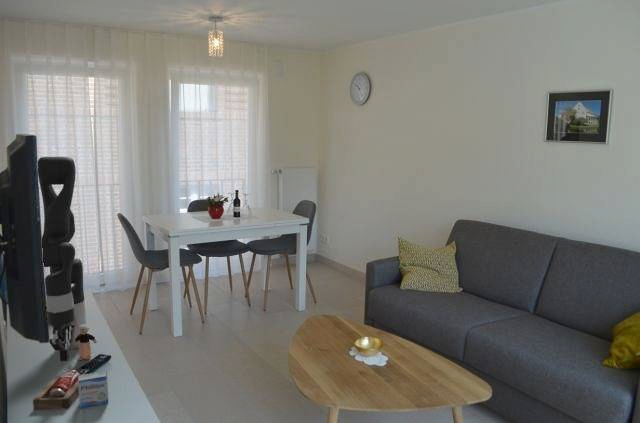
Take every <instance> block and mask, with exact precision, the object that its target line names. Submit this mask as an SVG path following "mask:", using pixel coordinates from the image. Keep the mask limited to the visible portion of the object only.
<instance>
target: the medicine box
mask: <svg viewBox="0 0 640 423" xmlns="http://www.w3.org/2000/svg"><path fill="white" fill-rule="evenodd" d="M108 386H109V384H108V372H107V370H104V371H98V372H93V373H92V372H91V373H87V374H80V375H79V376H78V387H79V396H78V398H79V400H78V401H79V408H80V409H85V408H89V407H95V406H100V405H104V404H108V403H109V388H108Z"/></svg>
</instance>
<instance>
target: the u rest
mask: <svg viewBox="0 0 640 423" xmlns="http://www.w3.org/2000/svg"><path fill="white" fill-rule="evenodd" d="M61 378H62V377H61V376H57V375H55V376H54V378H52V379H51V381H49V383H48V384H47V385H45V387H44V388H43V389H42V390H41V391H40V392H39V393H38V394H37V395H36V396H35V397H34V399H32V405H33V410H34V411H37V410H65V409H67V410H68V409H70V407H71V406H72V405H73V403H74V402H75V400H77V398H79V387H78V381H77V382H76V383H75V384H74V386H73V387H72V388H71V389H70V390H69V391H68V393H67V394H66V395H65V396H64V397H63V398H49V393H50V391H51V389H52V388H53V387H54V386H55V384H56V383H57V382H58V381H59V380H60V379H61Z"/></svg>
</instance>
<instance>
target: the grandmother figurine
mask: <svg viewBox="0 0 640 423" xmlns="http://www.w3.org/2000/svg"><path fill="white" fill-rule="evenodd" d="M79 330H80V333H81V334H79V335H78V336H77V337H76V339H75V341H74V345H76V344H77V342H78V341H80V343H79V348H78V355H79V356H78V358H77V361H83V360H84V359H85V361H86V360H91V359H92V356H91V355H92V354H91V353H92V350H91V349H92V348H91V342H90V340H91V341H92V342H93V344H97V341H98V340H96V337H95V336H94V335H92V334H90V333H88V332H89V330H90V327H89V326H88V325H87V324H86V325H85V324H83V325H80V327H79Z"/></svg>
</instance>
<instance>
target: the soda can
mask: <svg viewBox="0 0 640 423" xmlns="http://www.w3.org/2000/svg"><path fill="white" fill-rule="evenodd" d="M79 375H81V374H80V372H78V371H77V370H75V369H74V370H67V371H66V372H65V373H64V374H63V376H62V377H61V379H60V380H59V381H58V382H57V383H56V384H55V386H54V387H53V388H52V389H51V391H50V393H49V398H63V397H64V396H65V395H66V394H67V393H68V391H69V390H70V389H71V388H72V387H73V386H74V384H75V383H76V382H77V381H78V376H79Z"/></svg>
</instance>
